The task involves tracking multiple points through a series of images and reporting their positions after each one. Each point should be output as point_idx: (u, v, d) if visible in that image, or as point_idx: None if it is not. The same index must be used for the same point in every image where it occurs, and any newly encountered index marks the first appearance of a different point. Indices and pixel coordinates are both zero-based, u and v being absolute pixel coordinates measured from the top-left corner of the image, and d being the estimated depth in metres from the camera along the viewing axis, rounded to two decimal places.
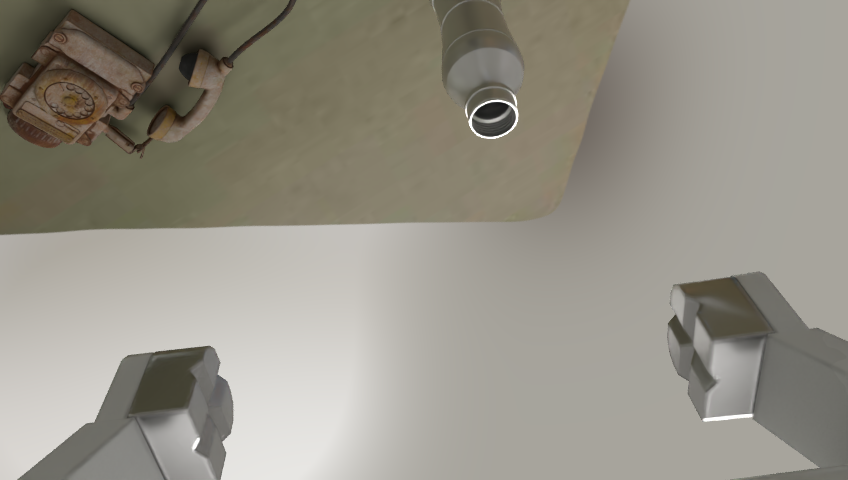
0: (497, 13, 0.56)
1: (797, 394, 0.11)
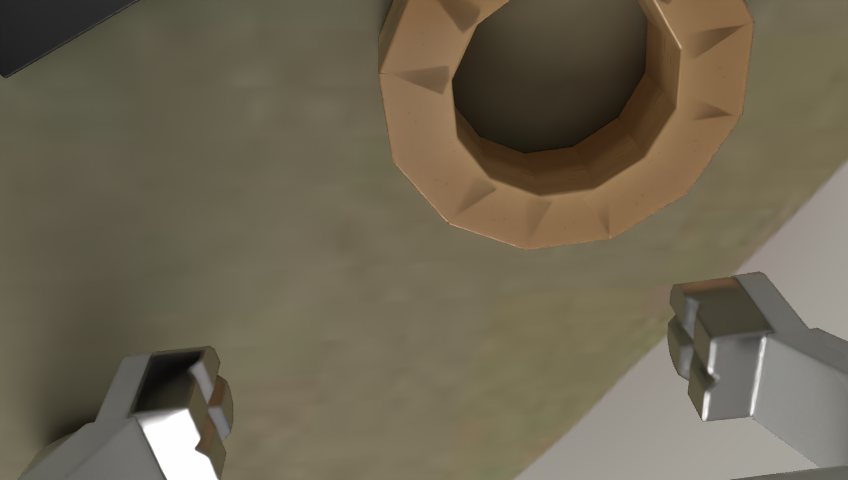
0: None
1: (797, 394, 0.11)
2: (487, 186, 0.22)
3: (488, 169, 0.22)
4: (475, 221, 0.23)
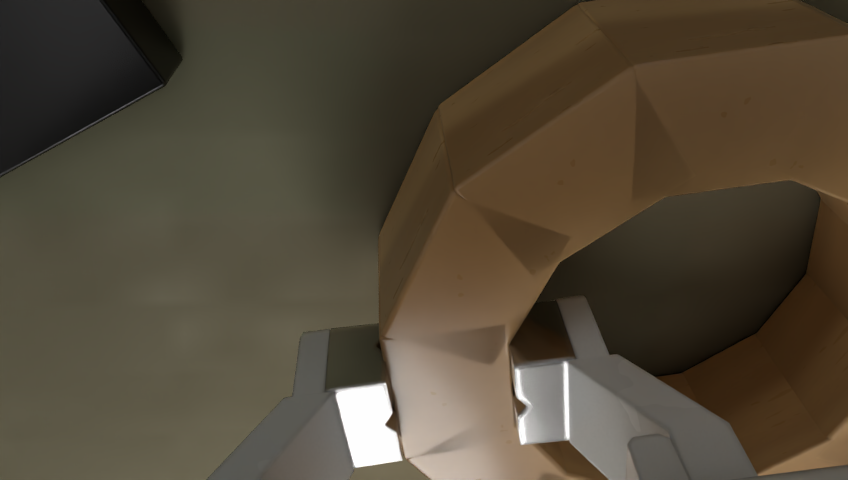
0: None
1: (596, 420, 0.11)
2: None
3: (562, 451, 0.14)
4: None
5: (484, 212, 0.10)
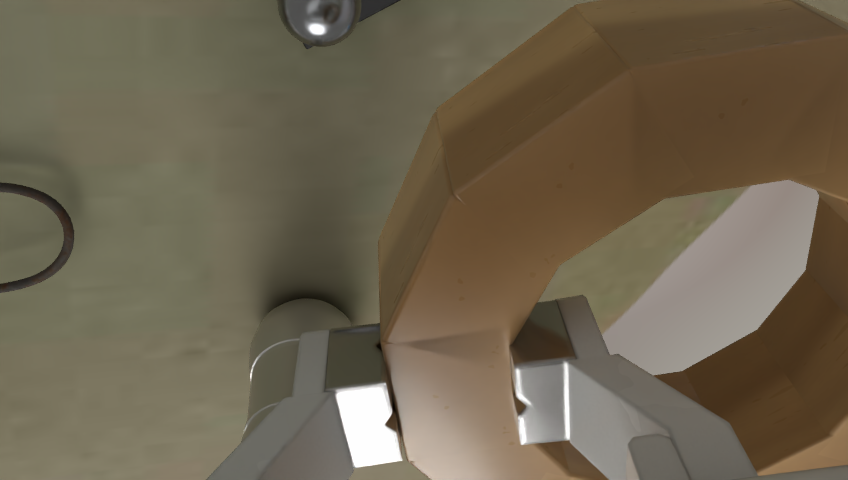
0: None
1: (596, 420, 0.11)
2: None
3: (564, 451, 0.14)
4: None
5: (483, 216, 0.10)
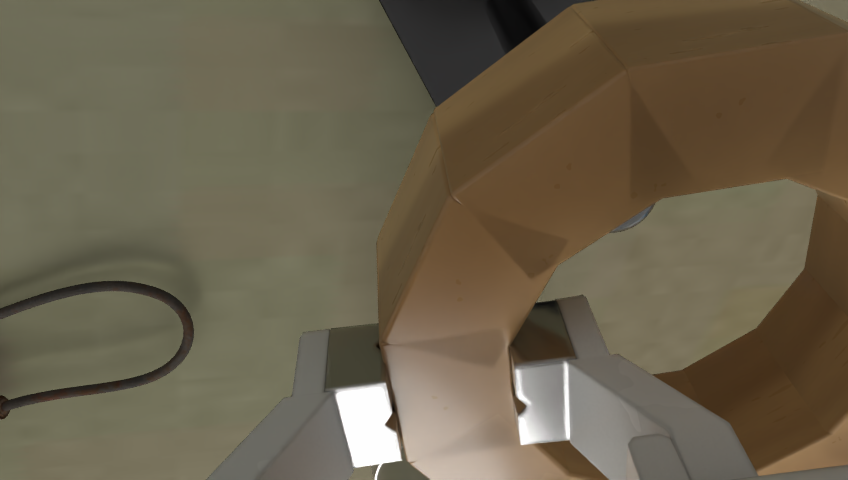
0: None
1: (597, 420, 0.11)
2: None
3: (564, 451, 0.14)
4: None
5: (481, 217, 0.10)
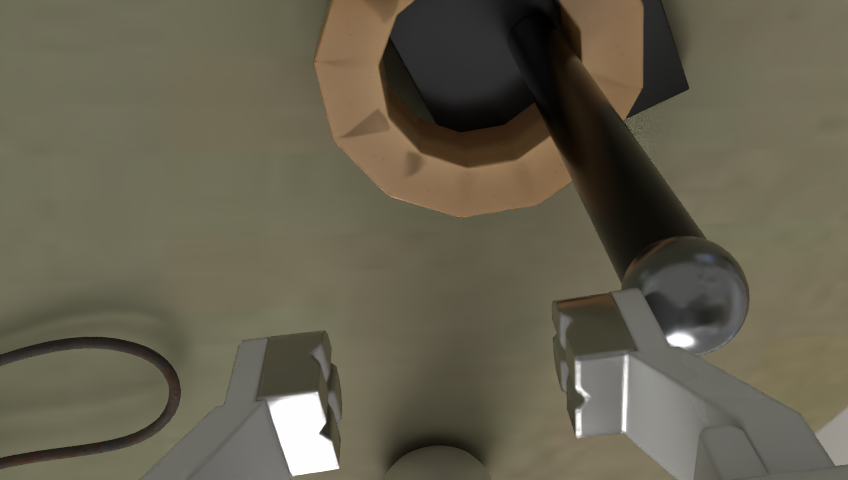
0: None
1: (658, 412, 0.11)
2: (420, 161, 0.25)
3: (421, 145, 0.25)
4: (412, 192, 0.25)
5: None
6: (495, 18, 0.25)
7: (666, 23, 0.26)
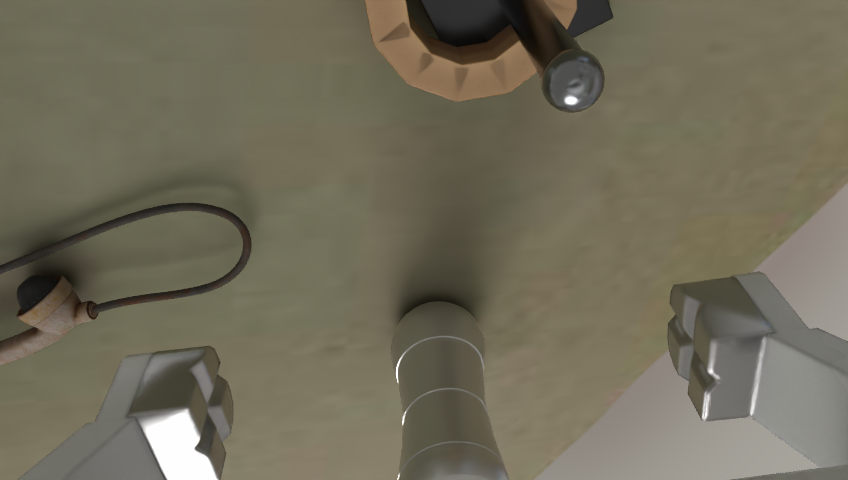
0: (488, 421, 0.43)
1: (797, 394, 0.11)
2: (430, 59, 0.37)
3: (430, 49, 0.38)
4: (424, 82, 0.38)
5: None
6: None
7: None
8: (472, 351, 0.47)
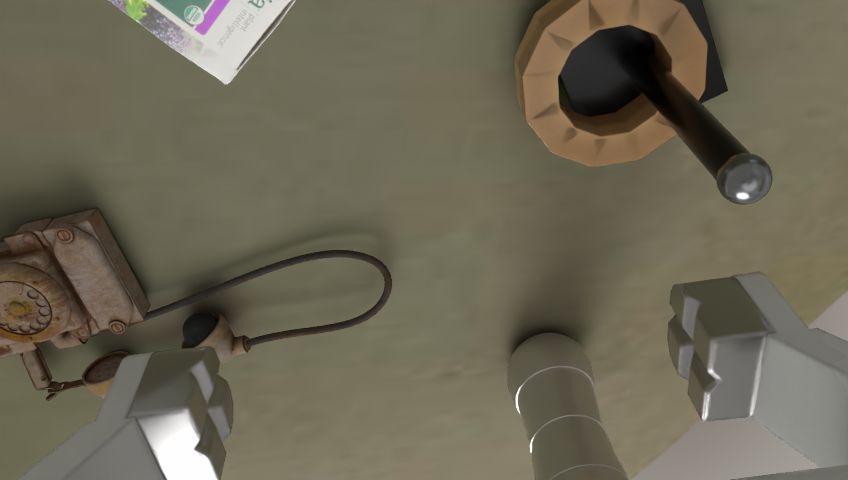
0: (610, 444, 0.49)
1: (797, 394, 0.11)
2: (574, 132, 0.43)
3: (573, 123, 0.43)
4: (566, 151, 0.43)
5: (551, 35, 0.39)
6: (616, 49, 0.43)
7: (715, 52, 0.44)
8: (587, 379, 0.52)
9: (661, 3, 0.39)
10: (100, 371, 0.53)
